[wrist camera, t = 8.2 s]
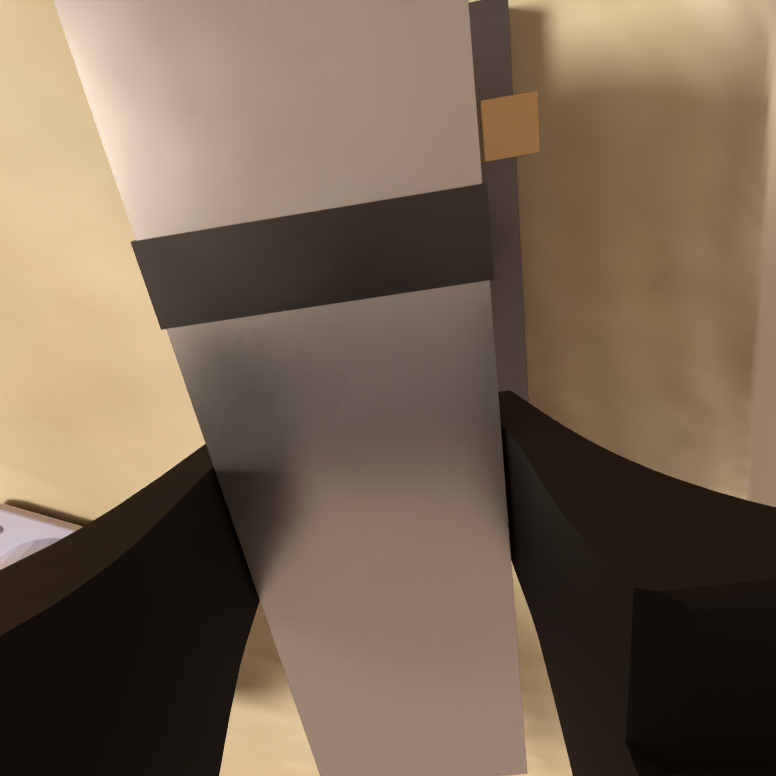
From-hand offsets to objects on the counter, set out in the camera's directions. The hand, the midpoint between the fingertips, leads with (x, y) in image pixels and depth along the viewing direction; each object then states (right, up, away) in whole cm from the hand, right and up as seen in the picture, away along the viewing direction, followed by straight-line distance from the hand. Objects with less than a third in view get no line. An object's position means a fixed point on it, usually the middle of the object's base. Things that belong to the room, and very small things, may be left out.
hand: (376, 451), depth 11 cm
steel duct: (0, +1, +2) cm, 2 cm away
